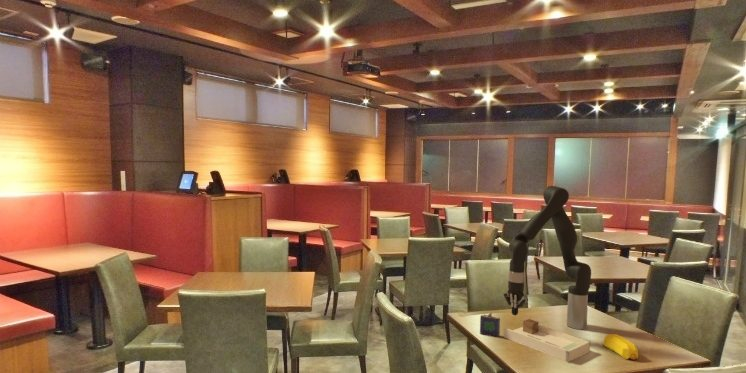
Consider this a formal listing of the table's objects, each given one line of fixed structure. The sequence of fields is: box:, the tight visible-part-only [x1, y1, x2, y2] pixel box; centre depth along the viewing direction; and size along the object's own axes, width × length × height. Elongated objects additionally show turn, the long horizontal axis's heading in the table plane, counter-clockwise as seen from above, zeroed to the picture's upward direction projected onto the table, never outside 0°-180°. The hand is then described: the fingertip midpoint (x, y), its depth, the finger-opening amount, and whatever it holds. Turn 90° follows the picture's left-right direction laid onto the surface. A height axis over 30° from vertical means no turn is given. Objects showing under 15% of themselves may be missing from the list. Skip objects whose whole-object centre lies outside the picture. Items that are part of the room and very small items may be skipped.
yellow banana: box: [603, 333, 639, 360], centre depth 195 cm, size 18×7×8 cm
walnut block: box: [522, 318, 539, 334], centre depth 212 cm, size 5×5×5 cm
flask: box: [479, 312, 501, 337], centre depth 213 cm, size 9×3×11 cm, turn 68°
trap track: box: [503, 324, 591, 363], centre depth 202 cm, size 18×32×4 cm, turn 37°
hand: (514, 314), depth 219 cm, fingers closed
